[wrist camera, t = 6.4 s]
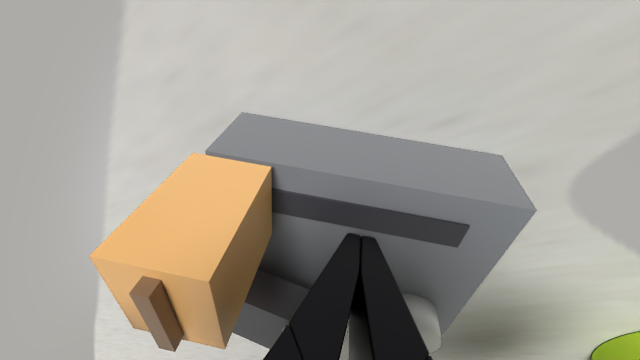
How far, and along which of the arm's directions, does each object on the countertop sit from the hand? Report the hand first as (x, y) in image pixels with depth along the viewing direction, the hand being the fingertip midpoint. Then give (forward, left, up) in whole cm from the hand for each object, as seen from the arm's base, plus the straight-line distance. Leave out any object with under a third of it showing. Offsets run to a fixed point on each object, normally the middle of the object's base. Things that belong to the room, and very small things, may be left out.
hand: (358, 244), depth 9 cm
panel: (-2, 0, -4) cm, 5 cm away
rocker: (-5, +3, 0) cm, 6 cm away
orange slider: (0, +4, -1) cm, 4 cm away
